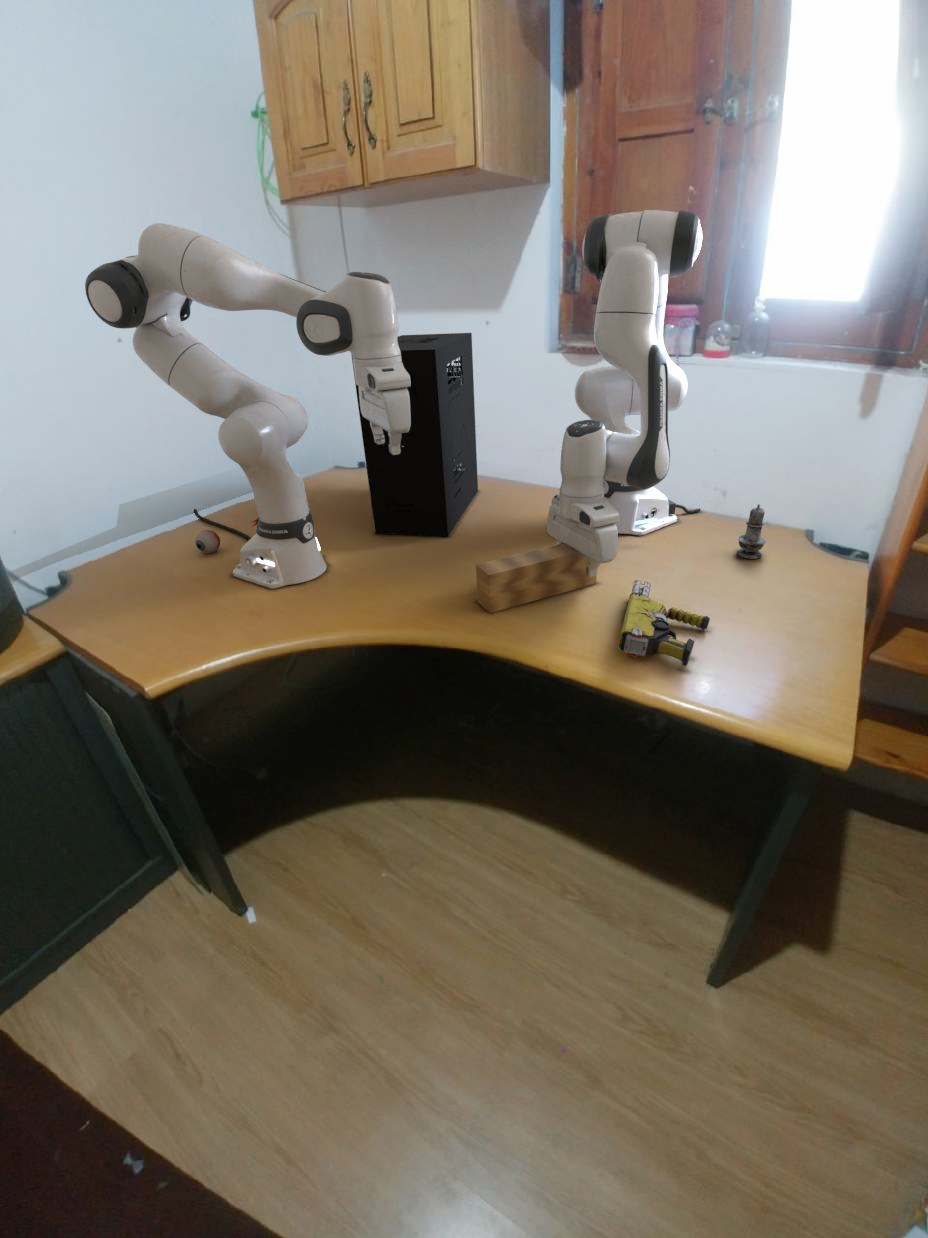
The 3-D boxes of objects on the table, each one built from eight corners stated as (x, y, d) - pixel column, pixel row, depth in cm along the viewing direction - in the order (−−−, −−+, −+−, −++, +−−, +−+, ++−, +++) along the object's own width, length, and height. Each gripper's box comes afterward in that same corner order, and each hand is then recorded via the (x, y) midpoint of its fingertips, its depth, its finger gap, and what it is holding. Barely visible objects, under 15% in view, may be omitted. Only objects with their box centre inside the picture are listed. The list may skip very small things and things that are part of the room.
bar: (580, 573, 135) (582, 538, 131) (596, 583, 130) (598, 547, 126) (477, 601, 126) (475, 564, 122) (489, 613, 122) (488, 575, 117)
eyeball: (192, 555, 155) (186, 534, 152) (210, 546, 160) (204, 525, 157) (210, 558, 153) (204, 536, 150) (227, 548, 158) (222, 527, 155)
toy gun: (711, 591, 118) (634, 577, 122) (713, 651, 98) (620, 632, 102) (705, 612, 120) (629, 597, 124) (706, 675, 100) (615, 655, 104)
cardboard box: (448, 536, 158) (435, 349, 135) (375, 533, 162) (351, 351, 140) (477, 490, 189) (471, 332, 167) (416, 489, 194) (401, 335, 171)
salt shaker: (765, 559, 136) (776, 508, 130) (737, 558, 137) (747, 508, 131) (759, 549, 141) (770, 499, 135) (733, 548, 142) (742, 499, 136)
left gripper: (347, 368, 118) (357, 440, 125) (379, 381, 102) (388, 463, 109) (378, 365, 120) (386, 435, 127) (413, 377, 104) (420, 457, 111)
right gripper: (540, 494, 130) (539, 553, 136) (598, 522, 113) (594, 588, 120) (565, 489, 132) (563, 548, 139) (625, 516, 116) (619, 581, 122)
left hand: (387, 448), depth 118 cm, fingers open, 8 cm apart
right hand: (578, 567), depth 129 cm, fingers open, 8 cm apart
